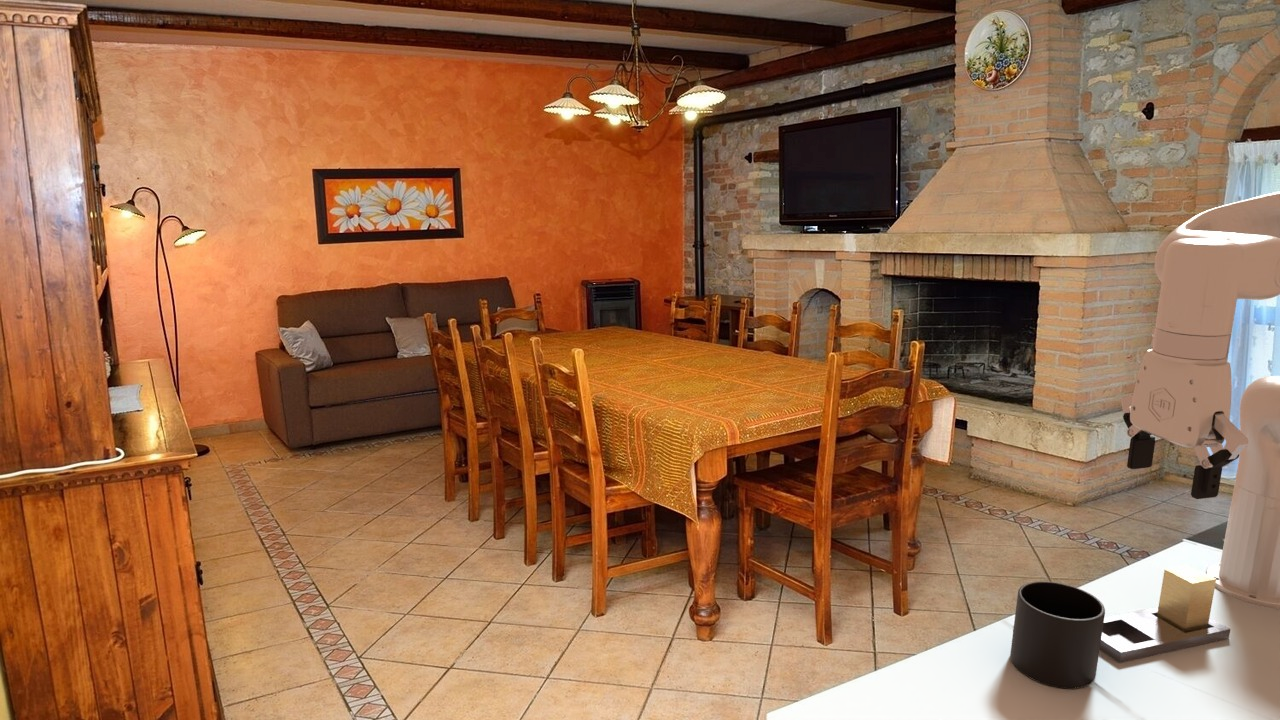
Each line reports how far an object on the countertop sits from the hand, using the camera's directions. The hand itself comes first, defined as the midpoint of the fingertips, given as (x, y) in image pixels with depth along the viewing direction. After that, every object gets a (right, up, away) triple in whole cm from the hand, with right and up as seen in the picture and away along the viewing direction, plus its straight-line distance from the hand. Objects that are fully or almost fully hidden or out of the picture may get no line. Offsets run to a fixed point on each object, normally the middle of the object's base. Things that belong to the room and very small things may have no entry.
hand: (1170, 481), depth 102 cm
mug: (-13, -23, +1) cm, 26 cm away
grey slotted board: (+1, -21, +6) cm, 22 cm away
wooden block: (+6, -21, +8) cm, 23 cm away
